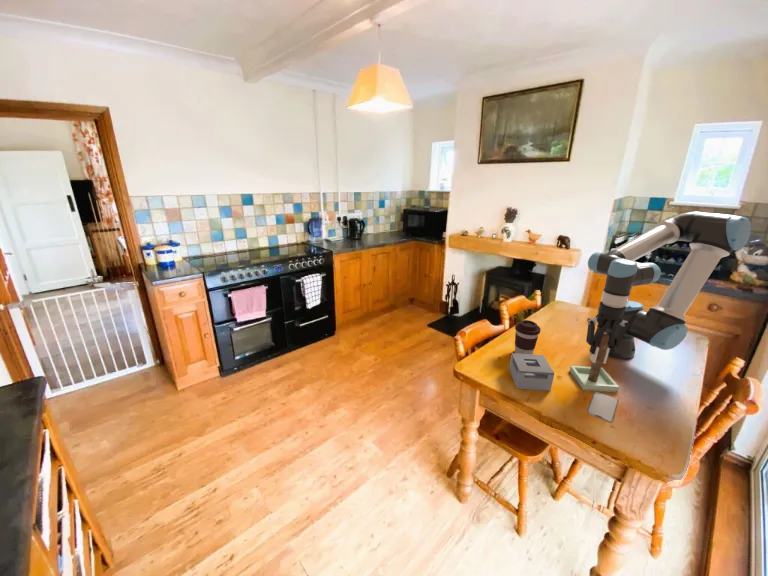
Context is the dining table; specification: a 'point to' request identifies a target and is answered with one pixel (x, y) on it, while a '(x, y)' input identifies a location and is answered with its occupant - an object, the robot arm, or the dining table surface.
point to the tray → (602, 383)
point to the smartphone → (603, 406)
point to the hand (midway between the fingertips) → (597, 361)
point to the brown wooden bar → (599, 358)
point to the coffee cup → (526, 336)
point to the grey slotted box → (531, 372)
